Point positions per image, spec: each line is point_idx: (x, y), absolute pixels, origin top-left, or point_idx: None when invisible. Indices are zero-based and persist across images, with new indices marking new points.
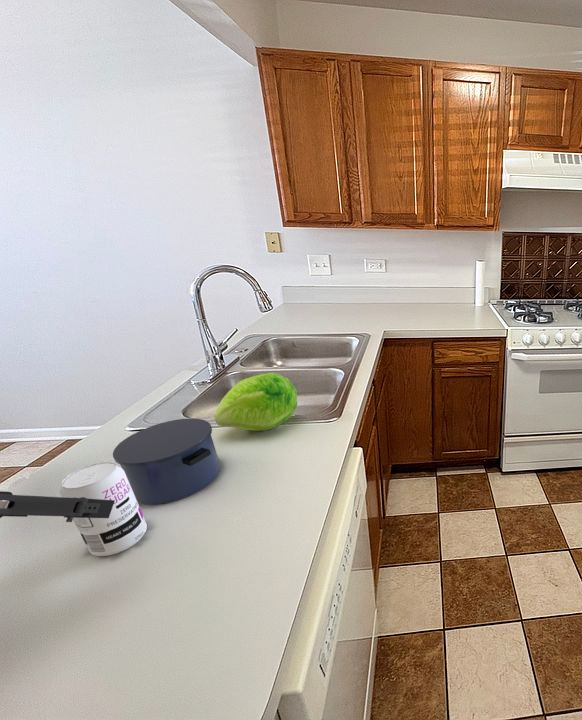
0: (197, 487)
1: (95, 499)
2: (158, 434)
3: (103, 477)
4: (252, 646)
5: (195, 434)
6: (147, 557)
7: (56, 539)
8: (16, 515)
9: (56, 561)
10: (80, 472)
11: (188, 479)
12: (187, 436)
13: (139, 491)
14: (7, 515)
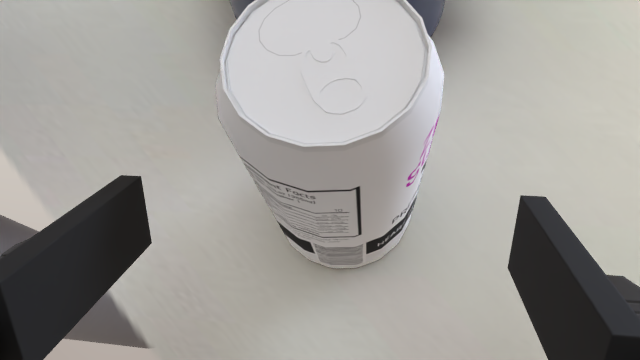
0: (433, 26)
1: (586, 253)
2: None
3: (411, 71)
4: None
5: None
6: (478, 271)
7: (159, 197)
8: (129, 262)
9: (219, 273)
10: (256, 39)
11: (431, 6)
12: None
13: None
14: (109, 285)
